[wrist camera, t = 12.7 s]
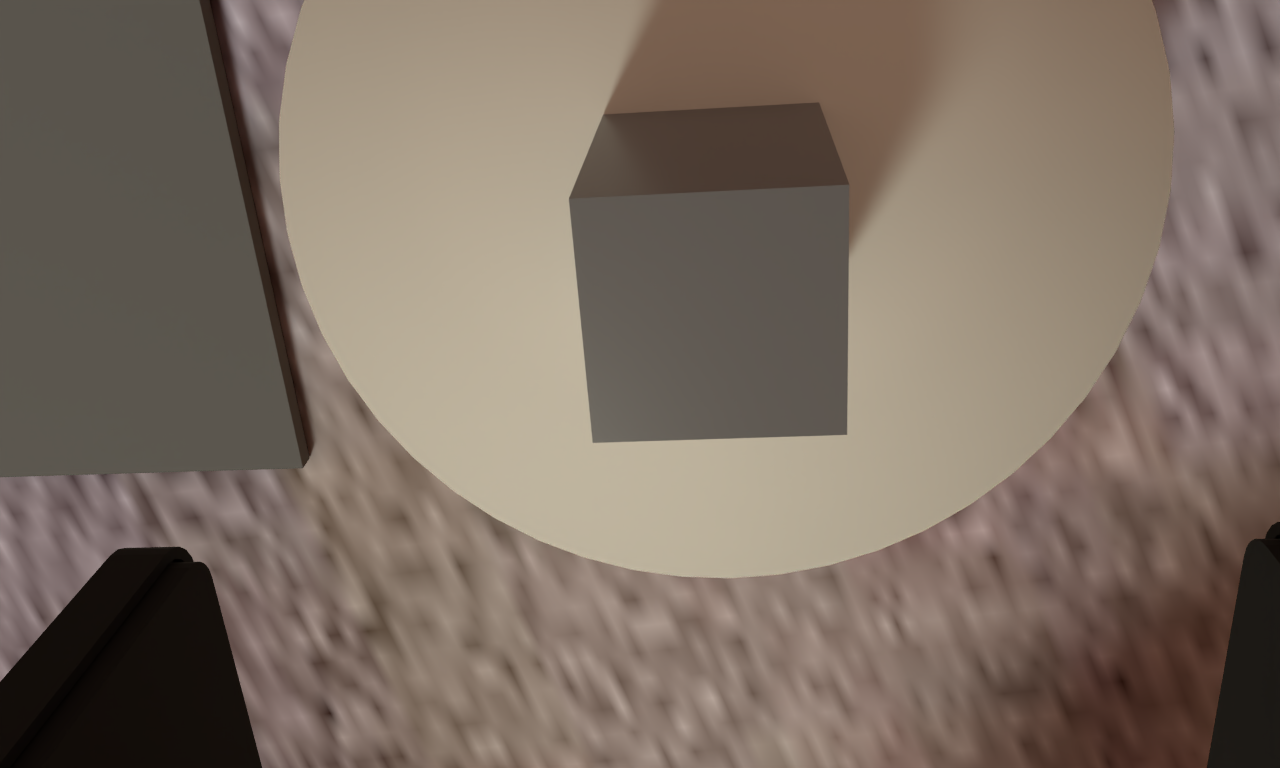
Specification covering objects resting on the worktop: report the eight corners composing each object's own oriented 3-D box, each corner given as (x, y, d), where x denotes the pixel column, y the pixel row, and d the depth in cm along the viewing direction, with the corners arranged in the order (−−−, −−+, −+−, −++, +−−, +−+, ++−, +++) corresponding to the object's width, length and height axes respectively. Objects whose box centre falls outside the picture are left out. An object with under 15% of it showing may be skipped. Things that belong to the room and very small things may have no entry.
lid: (1107, 544, 26) (1219, 751, 20) (372, 561, 28) (278, 758, 22) (1215, -334, 19) (1439, -409, 13) (209, -249, 20) (4, -281, 14)
